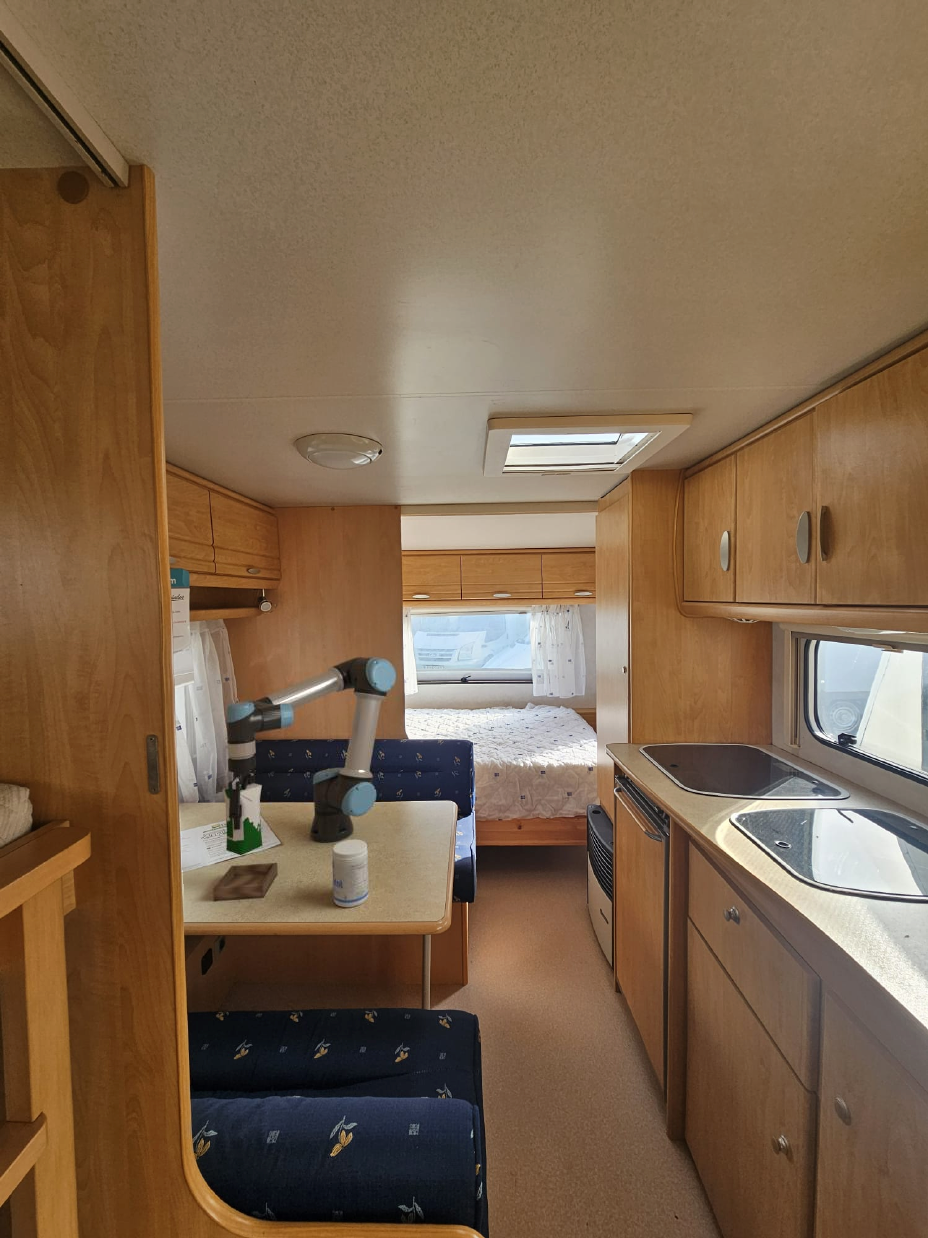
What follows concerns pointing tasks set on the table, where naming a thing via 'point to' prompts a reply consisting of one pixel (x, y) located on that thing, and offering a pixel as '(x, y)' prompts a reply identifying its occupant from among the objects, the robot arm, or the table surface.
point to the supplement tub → (350, 873)
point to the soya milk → (245, 820)
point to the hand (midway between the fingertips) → (244, 833)
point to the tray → (245, 882)
